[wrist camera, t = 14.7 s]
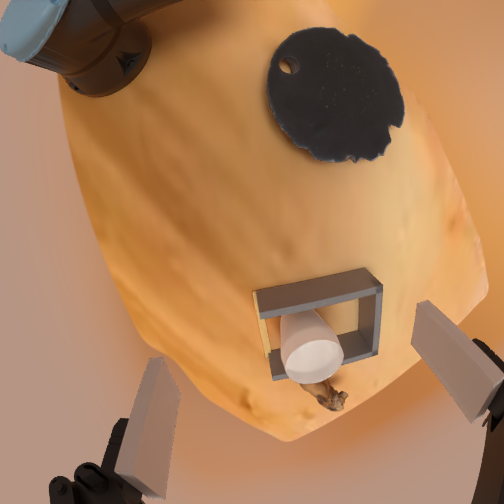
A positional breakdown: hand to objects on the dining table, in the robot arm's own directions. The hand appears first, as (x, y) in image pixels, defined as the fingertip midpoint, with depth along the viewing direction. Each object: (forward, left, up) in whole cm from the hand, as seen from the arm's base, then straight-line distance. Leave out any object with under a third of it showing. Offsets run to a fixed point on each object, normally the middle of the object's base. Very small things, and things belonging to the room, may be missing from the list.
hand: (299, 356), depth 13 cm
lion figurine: (+33, +6, -31) cm, 46 cm away
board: (-17, +15, -31) cm, 38 cm away
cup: (+19, +4, -31) cm, 37 cm away
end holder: (+19, +7, -31) cm, 37 cm away
